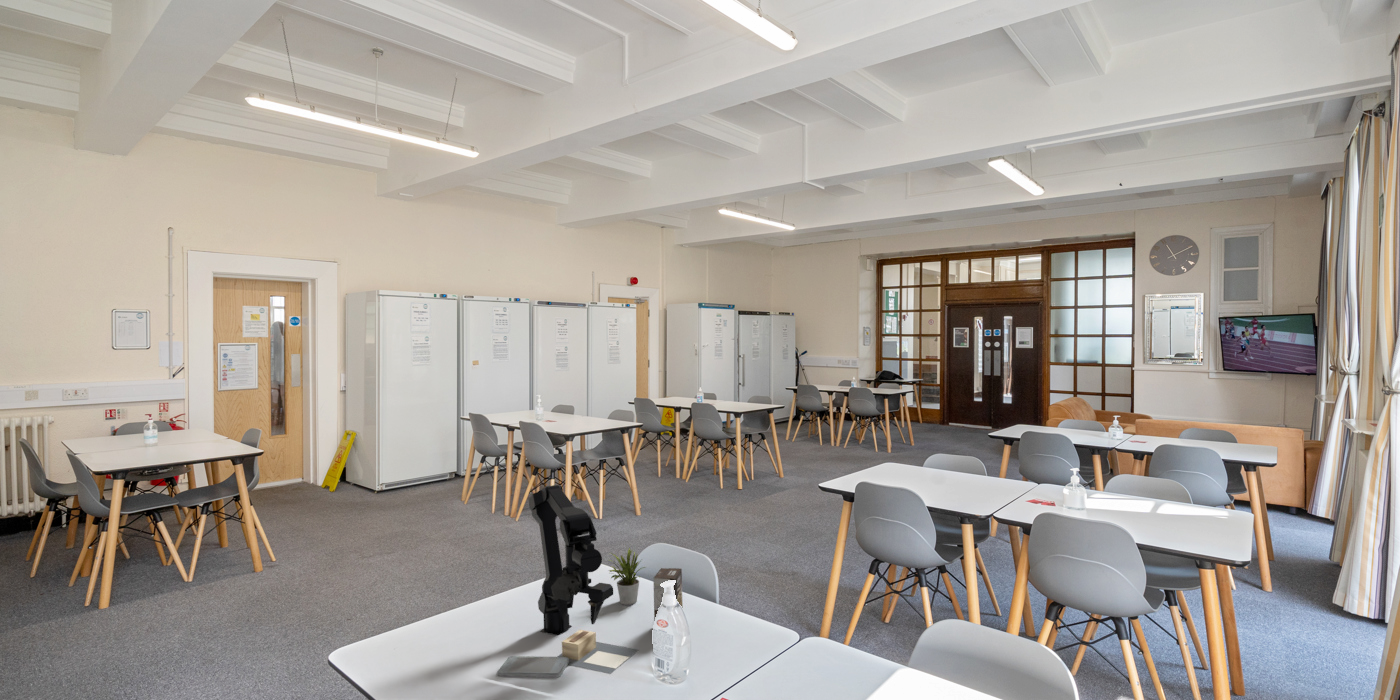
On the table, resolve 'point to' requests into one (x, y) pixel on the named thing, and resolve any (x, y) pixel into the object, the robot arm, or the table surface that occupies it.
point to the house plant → (627, 579)
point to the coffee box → (659, 578)
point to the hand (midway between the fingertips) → (578, 621)
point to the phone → (533, 666)
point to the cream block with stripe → (579, 644)
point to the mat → (604, 658)
